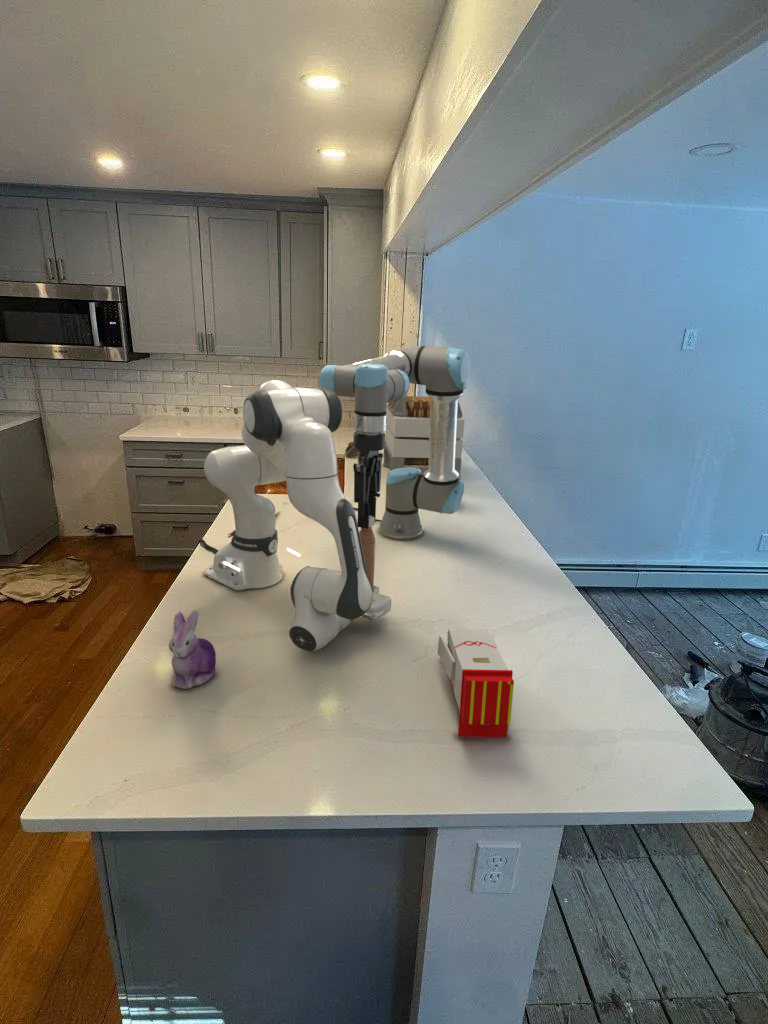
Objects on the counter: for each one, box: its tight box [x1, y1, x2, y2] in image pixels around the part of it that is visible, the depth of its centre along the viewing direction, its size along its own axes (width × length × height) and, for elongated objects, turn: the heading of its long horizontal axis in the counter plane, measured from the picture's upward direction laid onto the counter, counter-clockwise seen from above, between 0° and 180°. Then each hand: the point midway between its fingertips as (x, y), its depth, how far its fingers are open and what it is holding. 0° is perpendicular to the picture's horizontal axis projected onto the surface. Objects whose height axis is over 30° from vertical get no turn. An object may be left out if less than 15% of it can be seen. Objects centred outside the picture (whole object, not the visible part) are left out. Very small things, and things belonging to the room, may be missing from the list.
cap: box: [369, 515, 376, 527], centre depth 141 cm, size 4×4×2 cm
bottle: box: [359, 526, 377, 587], centre depth 145 cm, size 5×5×25 cm
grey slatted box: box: [382, 393, 465, 481], centre depth 268 cm, size 34×33×41 cm
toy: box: [437, 628, 515, 738], centre depth 117 cm, size 12×13×30 cm
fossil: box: [344, 441, 360, 458], centre depth 304 cm, size 22×10×15 cm
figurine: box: [168, 610, 217, 690], centre depth 117 cm, size 9×10×15 cm
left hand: (365, 585), depth 148 cm, fingers closed on bottle, 5 cm apart
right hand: (366, 524), depth 142 cm, fingers closed on cap, 4 cm apart
